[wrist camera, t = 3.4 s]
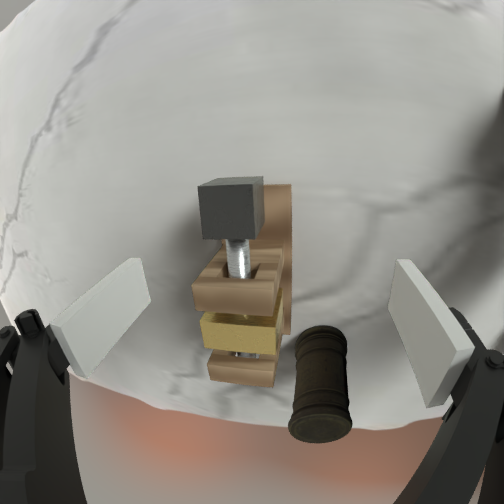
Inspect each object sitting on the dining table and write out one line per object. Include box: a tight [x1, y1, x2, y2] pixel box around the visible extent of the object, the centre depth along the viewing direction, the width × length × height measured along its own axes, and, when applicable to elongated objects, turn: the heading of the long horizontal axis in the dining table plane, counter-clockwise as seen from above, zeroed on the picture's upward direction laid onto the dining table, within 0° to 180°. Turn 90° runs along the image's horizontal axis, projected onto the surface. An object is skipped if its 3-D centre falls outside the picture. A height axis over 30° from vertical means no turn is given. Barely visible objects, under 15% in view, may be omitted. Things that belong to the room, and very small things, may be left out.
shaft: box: [198, 176, 265, 358], centre depth 30 cm, size 24×5×6 cm, turn 3°
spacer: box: [200, 288, 283, 355], centre depth 33 cm, size 4×8×8 cm, turn 93°
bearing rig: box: [191, 184, 292, 387], centre depth 34 cm, size 24×10×15 cm, turn 3°
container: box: [288, 326, 352, 443], centre depth 36 cm, size 9×9×18 cm
